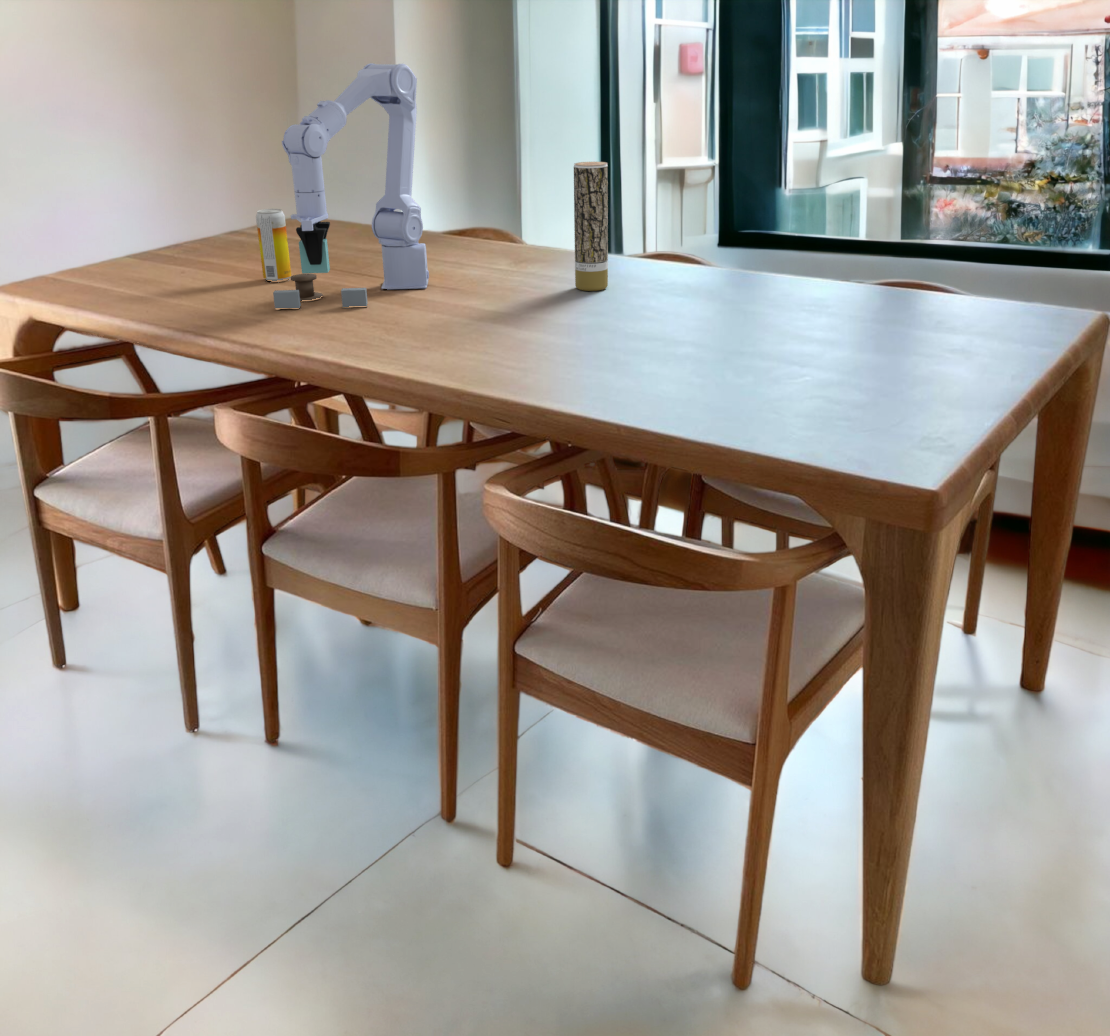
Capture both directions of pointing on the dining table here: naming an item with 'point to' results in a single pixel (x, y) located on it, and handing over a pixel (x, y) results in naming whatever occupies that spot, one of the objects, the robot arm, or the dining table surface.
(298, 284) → the bobbin
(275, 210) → the beer can
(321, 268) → the block
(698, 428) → the dining table surface
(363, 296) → the grey bricks
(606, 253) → the paper tube
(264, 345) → the dining table surface
